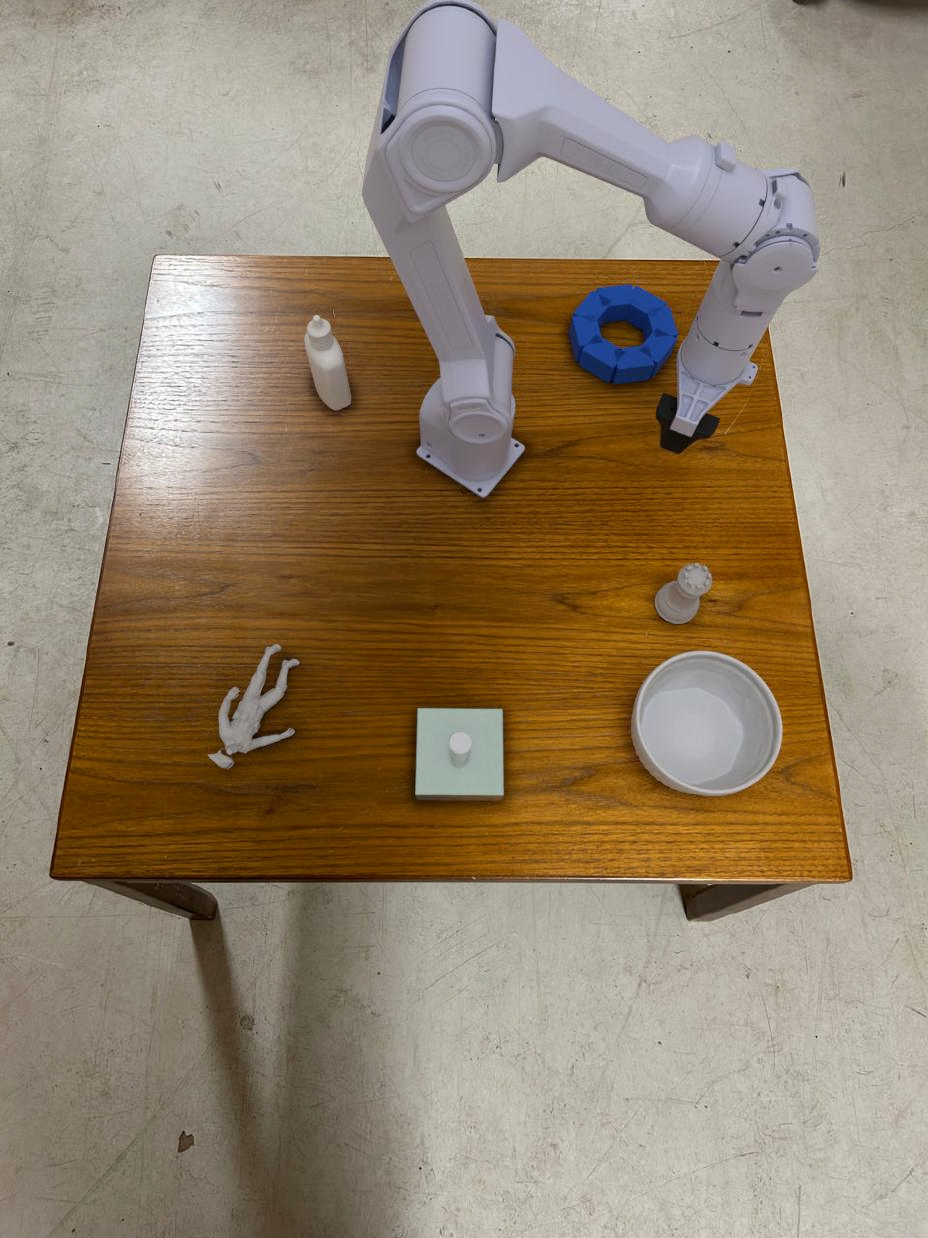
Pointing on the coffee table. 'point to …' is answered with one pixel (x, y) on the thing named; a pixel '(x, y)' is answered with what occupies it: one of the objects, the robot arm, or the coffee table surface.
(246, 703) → the soldier figure
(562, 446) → the coffee table surface
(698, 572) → the rook chess piece
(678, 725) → the ramekin
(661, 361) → the blue ring
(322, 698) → the coffee table surface
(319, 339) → the eye dropper bottle
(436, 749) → the pale green peg block
